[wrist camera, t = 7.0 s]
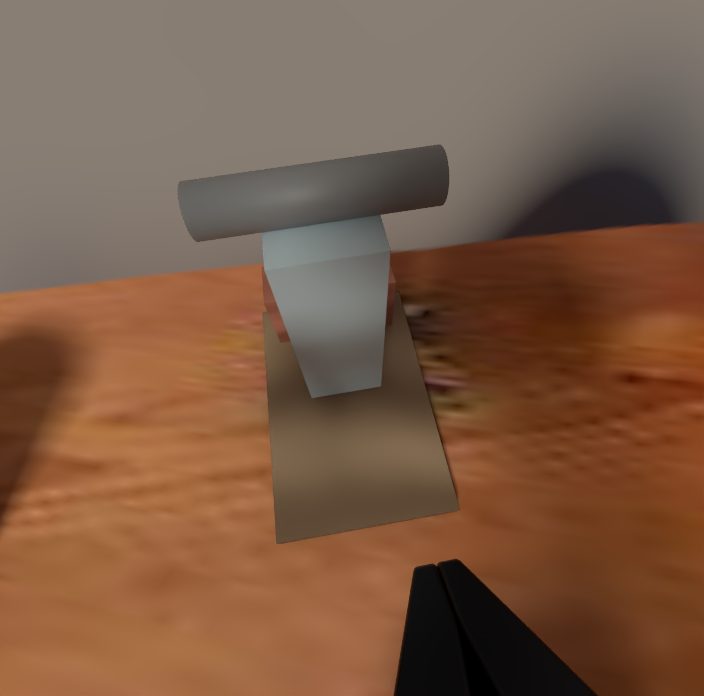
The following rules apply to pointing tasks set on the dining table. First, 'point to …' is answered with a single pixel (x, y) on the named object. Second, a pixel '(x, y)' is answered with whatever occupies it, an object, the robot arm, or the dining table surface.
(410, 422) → the tan base plate
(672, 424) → the dining table surface
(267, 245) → the grey t-shaped piece
